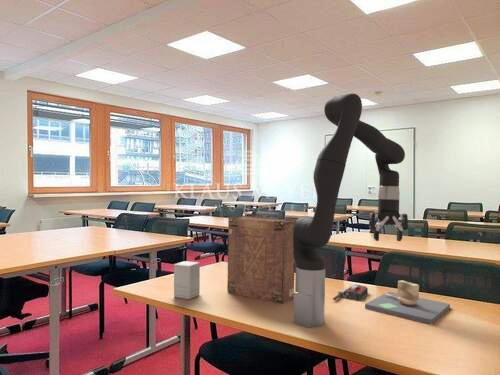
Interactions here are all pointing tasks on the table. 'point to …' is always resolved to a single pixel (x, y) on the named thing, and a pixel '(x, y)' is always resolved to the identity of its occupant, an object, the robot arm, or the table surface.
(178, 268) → the supplement box
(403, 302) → the tuning knob
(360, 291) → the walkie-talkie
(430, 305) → the grey flat square slab
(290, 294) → the book
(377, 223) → the robot arm
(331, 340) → the table surface
